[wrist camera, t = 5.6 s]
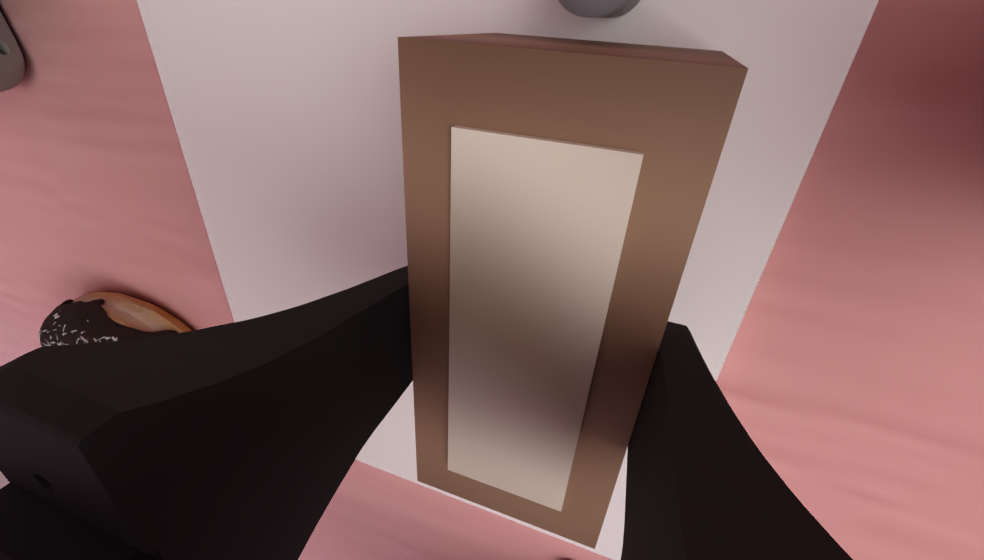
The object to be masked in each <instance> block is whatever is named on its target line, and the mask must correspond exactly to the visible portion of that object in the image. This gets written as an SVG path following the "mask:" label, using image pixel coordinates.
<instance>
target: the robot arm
mask: <svg viewBox="0 0 984 560" xmlns="http://www.w3.org/2000/svg"><path fill="white" fill-rule="evenodd" d="M412 381H413V372H412V350H411V328H410V305H409V283H408V266H405V267H402V268H399V269H397V270H394V271H392V272H389V273H386V274H384V275H381V276H379V277H376V278H374V279H371V280H369V281H366V282H364V283H361V284H359V285H356V286H353V287H351V288H348V289H346V290H343V291H340V292H337V293H334V294H332V295H329V296H326V297H323V298H320V299H317V300H315V301H312V302H309V303H306V304H303V305H300V306H297V307H293V308H290V309H287V310H283V311H280V312H276V313H272V314H268V315H265V316H261V317H257V318H253V319H249V320H244V321H239V322H234V323H229V324H224V325H219V326H215V327H210V328H205V329H200V330H194V331H188V332H181V333H175V334H168V335H161V336H153V337H145V338H138V339H129V340H119V341H107V342H95V343H82V344H69V345H55V346H44V347H41V348H38V349H35V350H33V351H31V352H29V353H26V354H24V355H22V356H20V357H18V358H16V359H15V360H13V361H11V362H9V363H7V364H5V365H3V366H1V367H0V471H1V472H2V473H3V475H4V476H5V477H6V478H7V479H8V481H9V482H10V483H9V484H8V485H6V486H4V487H3V488H2V489H0V560H298V558H299V556H300V554H301V553H302V551H303V549H304V547H305V545H306V543H307V541H308V540H309V538H310V536H311V534H312V532H313V530H314V529H315V527H316V525H317V523H318V521H319V520H320V518H321V516H322V514H323V513H324V511H325V509H326V507H327V506H328V504H329V502H330V501H331V499H332V497H333V495H334V494H335V492H336V490H337V488H338V487H339V485H340V483H341V482H342V480H343V478H344V477H345V475H346V474H347V472H348V470H349V469H350V467H351V465H352V464H353V462H354V460H355V459H356V457H357V455H358V454H359V452H360V451H361V449H362V448H363V446H364V445H365V443H366V442H367V440H368V439H369V438H370V436H371V435H372V433H373V432H374V431H375V429H376V428H377V427H378V425H379V424H380V423H381V422H382V420H383V419H384V418H385V416H386V415H387V414H388V412H389V411H390V410H391V408H392V407H393V406H394V405H395V403H396V402H397V401H398V399H399V398H400V397H401V395H402V394H403V393H404V391H405V390H406V389H407V388H408V386H409V385H410V384H411V382H412ZM621 560H853V559H852V558H851V557H850V556H849V555H848V554H847V553H846V552H845V551H844V550H843V549H842V548H841V547H840V546H839V545H838V543H837V542H836V541H835V540H834V539H833V538H832V537H831V536H830V535H829V533H828V532H827V531H826V530H825V529H824V528H823V527H822V526H821V525H820V524H819V522H818V521H817V520H816V519H815V518H814V517H813V516H812V515H811V514H810V512H809V511H808V510H807V509H806V508H805V507H804V506H803V504H802V503H801V502H800V501H799V500H798V499H797V497H796V496H795V495H794V494H793V493H792V492H791V490H790V489H789V488H788V487H787V485H786V484H785V483H784V482H783V480H782V479H781V478H780V476H779V475H778V474H777V473H776V471H775V470H774V469H773V468H772V466H771V465H770V464H769V462H768V461H767V460H766V459H765V457H764V456H763V455H762V453H761V452H760V451H759V449H758V448H757V447H756V445H755V444H754V442H753V441H752V439H751V438H750V436H749V435H748V433H747V432H746V430H745V429H744V427H743V426H742V424H741V423H740V421H739V420H738V418H737V417H736V415H735V414H734V412H733V410H732V409H731V407H730V405H729V404H728V402H727V400H726V399H725V397H724V395H723V394H722V392H721V390H720V388H719V387H718V385H717V383H716V381H715V380H714V378H713V376H712V374H711V372H710V370H709V369H708V367H707V365H706V363H705V361H704V359H703V357H702V355H701V353H700V351H699V349H698V347H697V345H696V342H695V340H694V338H693V336H692V334H691V332H690V330H689V329H688V327H687V326H686V325H682V324H677V323H673V322H669V321H668V322H667V325H666V328H665V331H664V334H663V337H662V340H661V343H660V347H659V350H658V353H657V356H656V359H655V362H654V365H653V369H652V372H651V375H650V378H649V381H648V384H647V387H646V390H645V394H644V397H643V400H642V403H641V406H640V409H639V412H638V415H637V419H636V422H635V425H634V428H633V431H632V434H631V437H630V441H629V444H628V453H627V476H626V499H625V522H624V535H623V547H622V554H621Z"/></svg>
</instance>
